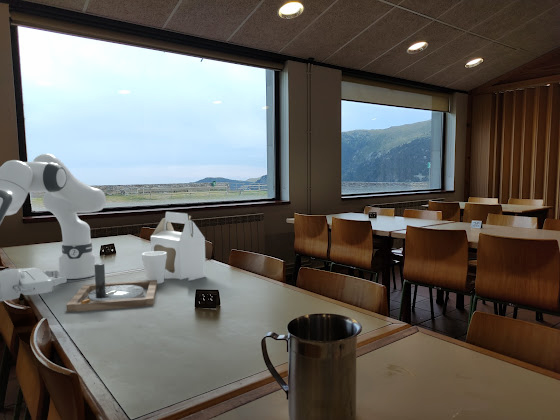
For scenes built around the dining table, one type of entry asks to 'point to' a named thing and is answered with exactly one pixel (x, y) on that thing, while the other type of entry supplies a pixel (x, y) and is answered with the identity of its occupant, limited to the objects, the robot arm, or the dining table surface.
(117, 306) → the wooden tray
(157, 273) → the foam cup
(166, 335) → the dining table surface
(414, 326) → the dining table surface
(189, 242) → the gable box
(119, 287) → the dial
